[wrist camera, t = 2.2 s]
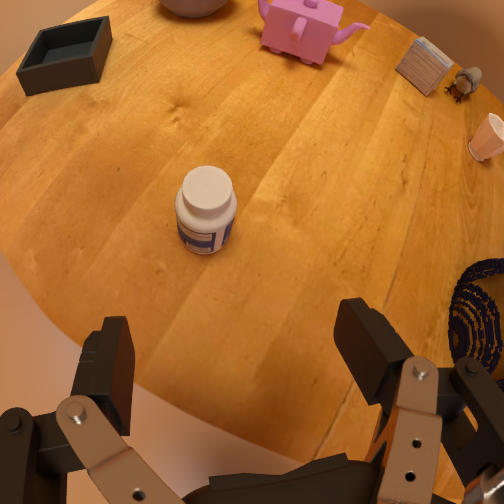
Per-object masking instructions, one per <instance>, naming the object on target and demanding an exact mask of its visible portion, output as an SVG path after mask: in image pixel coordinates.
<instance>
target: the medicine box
mask: <svg viewBox="0 0 504 504" xmlns="http://www.w3.org/2000/svg"><path fill="white" fill-rule="evenodd" d="M453 65H454V62H453V61H451V60H450V59H449V58H448V57H447V56H446V55H445V54H444V53H442V52H441V51H440V50H439V49H438V48H436V47H435V46H434V45H433V44H432V43H430V42H429V41H428V40H427V39H425V38H424V37H420V38H418V39H415V40H414V41H413V42H412V44H411V46H410V47H409V49H408V50H407V52H406V53H405V55H404V56H403V58H402V60H401V61H400V63H399V64H398V66H397V67H396V69H395V70H397V71H398V72H399V73H400V74H401V75H403V76H404V77H405V78H406V79H407V80H409V81H410V82H411V83H412V84H413V85H414V86H415V87H416V88H418V89H419V90H420V91H421V92H422V93H423V94H424V95H425V96H427V95H428V94H430V93H431V92H432V91H433V90H434V89H435V88H436V86H437V85H438V84H439V82H440V81H441V80H442V79H443V77H444V76H445V75H446V74H447V72H448V71H449V70H450V69H451V67H452V66H453Z"/></svg>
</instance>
